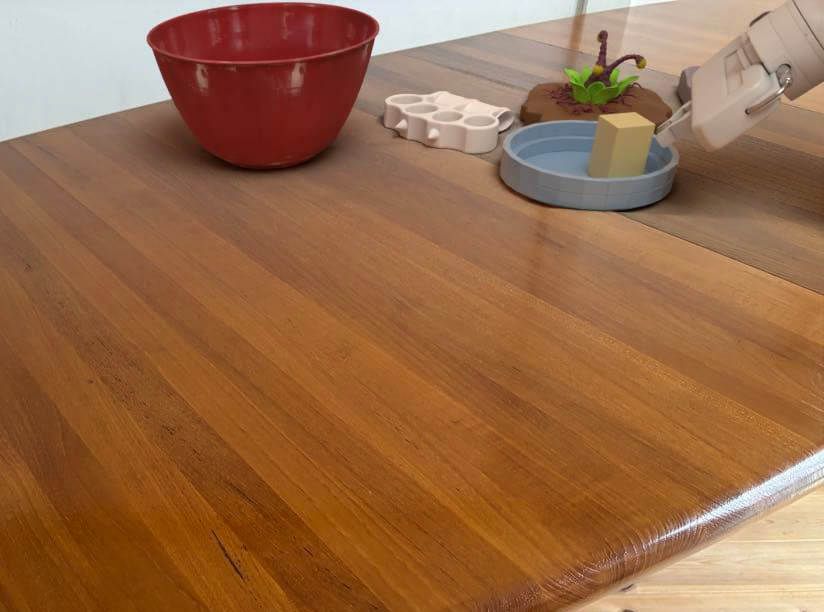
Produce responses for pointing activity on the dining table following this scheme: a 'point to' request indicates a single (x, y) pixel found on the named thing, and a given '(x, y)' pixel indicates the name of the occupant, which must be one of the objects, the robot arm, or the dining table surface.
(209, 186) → the dining table surface
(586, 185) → the blue bowl
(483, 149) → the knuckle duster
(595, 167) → the yellow block
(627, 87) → the plant
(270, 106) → the mixing bowl
